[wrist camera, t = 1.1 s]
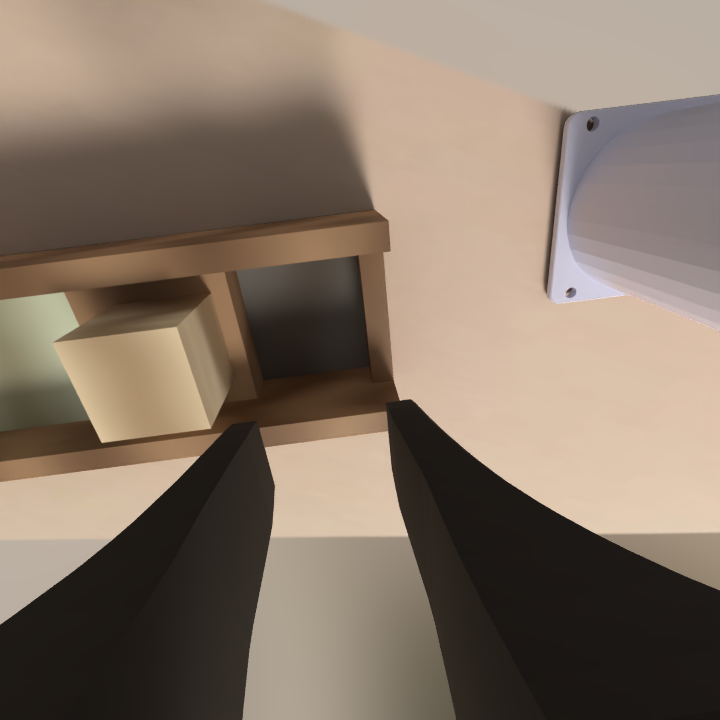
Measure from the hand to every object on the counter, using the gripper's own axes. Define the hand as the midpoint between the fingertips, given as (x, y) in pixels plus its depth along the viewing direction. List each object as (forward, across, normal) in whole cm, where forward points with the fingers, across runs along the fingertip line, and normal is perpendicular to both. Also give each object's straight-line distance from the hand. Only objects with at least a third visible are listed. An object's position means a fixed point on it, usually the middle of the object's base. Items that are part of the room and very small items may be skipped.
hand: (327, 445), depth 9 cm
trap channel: (+11, +10, 0) cm, 15 cm away
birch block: (+8, +6, 0) cm, 11 cm away
